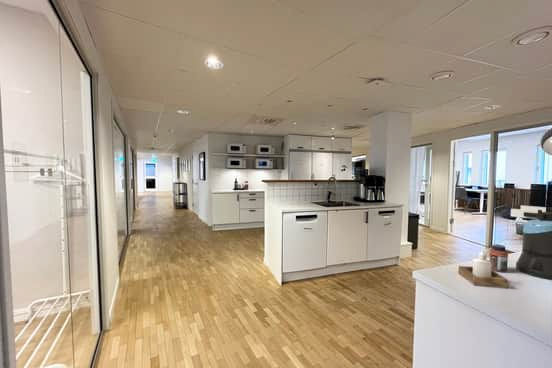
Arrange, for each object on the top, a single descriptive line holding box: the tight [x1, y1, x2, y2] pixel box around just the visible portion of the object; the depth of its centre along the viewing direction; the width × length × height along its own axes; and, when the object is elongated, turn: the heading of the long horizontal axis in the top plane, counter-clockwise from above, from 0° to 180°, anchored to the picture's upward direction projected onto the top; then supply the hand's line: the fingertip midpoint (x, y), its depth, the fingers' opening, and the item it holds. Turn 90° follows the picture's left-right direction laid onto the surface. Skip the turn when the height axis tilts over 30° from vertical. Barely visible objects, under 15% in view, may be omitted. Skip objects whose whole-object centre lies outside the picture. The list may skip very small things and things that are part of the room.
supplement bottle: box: [488, 243, 509, 273], centre depth 105 cm, size 6×6×11 cm
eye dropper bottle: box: [472, 249, 492, 277], centre depth 95 cm, size 4×6×12 cm
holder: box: [457, 265, 509, 289], centre depth 95 cm, size 11×11×4 cm
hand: (515, 210), depth 88 cm, fingers open, 13 cm apart
